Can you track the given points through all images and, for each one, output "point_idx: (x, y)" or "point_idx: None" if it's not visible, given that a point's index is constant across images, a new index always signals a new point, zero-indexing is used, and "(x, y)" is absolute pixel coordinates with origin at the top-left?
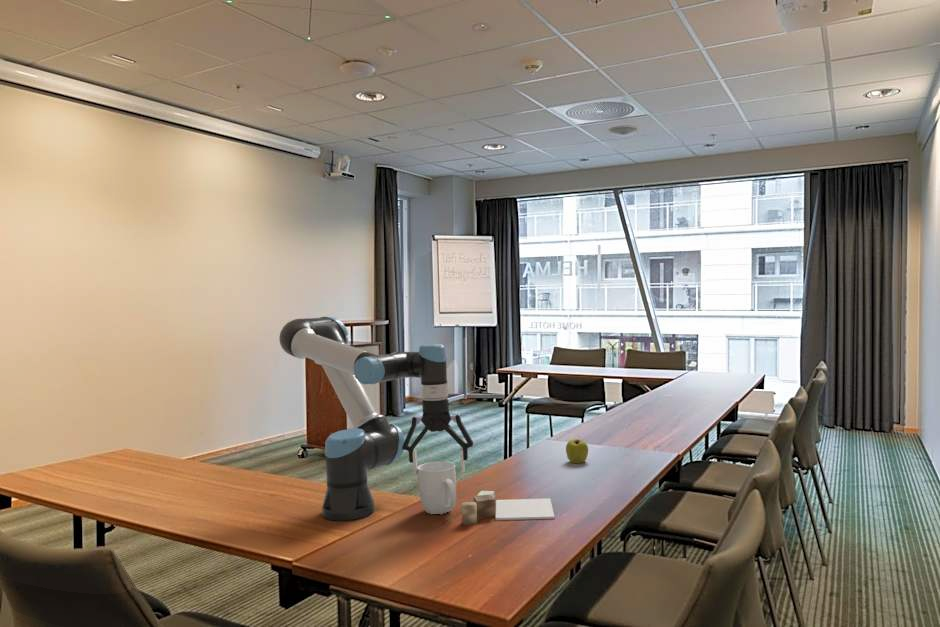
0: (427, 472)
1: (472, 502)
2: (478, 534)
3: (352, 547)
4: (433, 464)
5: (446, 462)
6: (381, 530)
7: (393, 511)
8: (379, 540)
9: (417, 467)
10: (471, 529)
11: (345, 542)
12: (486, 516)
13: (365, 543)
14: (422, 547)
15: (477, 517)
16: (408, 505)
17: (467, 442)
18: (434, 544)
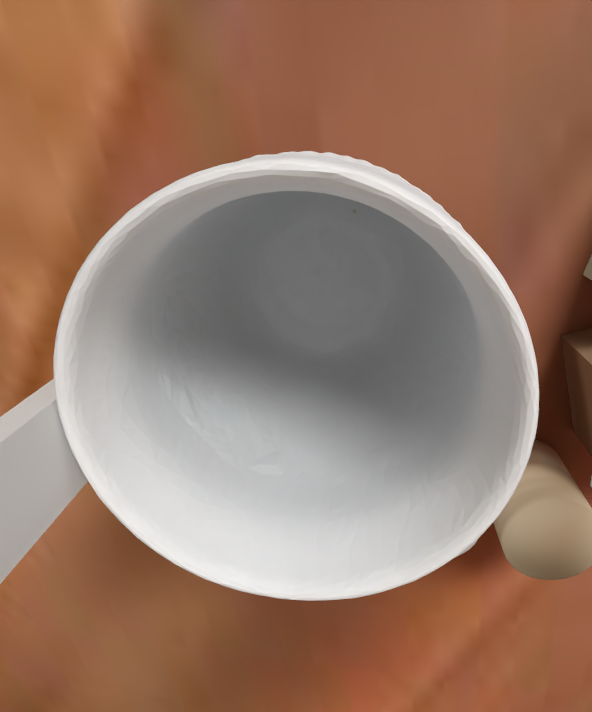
0: (223, 577)
1: (580, 517)
2: (549, 615)
3: (54, 655)
4: (213, 196)
5: (410, 209)
6: (94, 522)
7: (48, 260)
8: (127, 615)
9: (65, 433)
10: None
11: (6, 614)
12: None
13: (85, 632)
14: (313, 690)
15: (572, 419)
16: (101, 139)
17: None
18: (356, 675)
